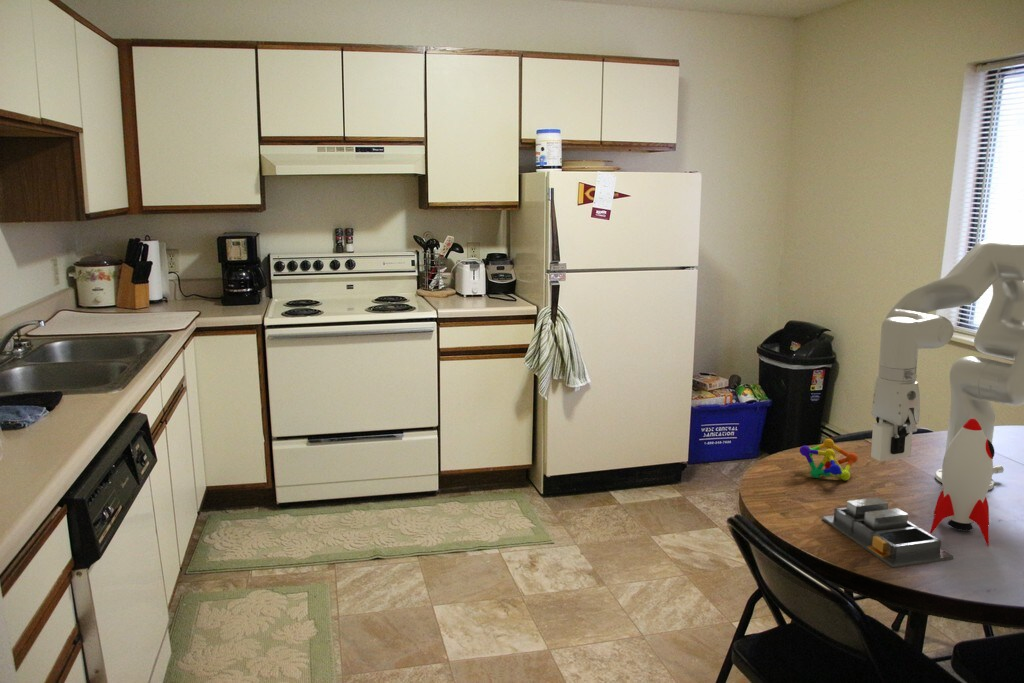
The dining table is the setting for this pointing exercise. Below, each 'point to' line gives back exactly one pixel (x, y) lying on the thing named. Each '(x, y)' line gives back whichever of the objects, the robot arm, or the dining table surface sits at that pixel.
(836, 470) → the decorative model
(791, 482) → the dining table surface
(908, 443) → the block
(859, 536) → the rack
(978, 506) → the rocket
